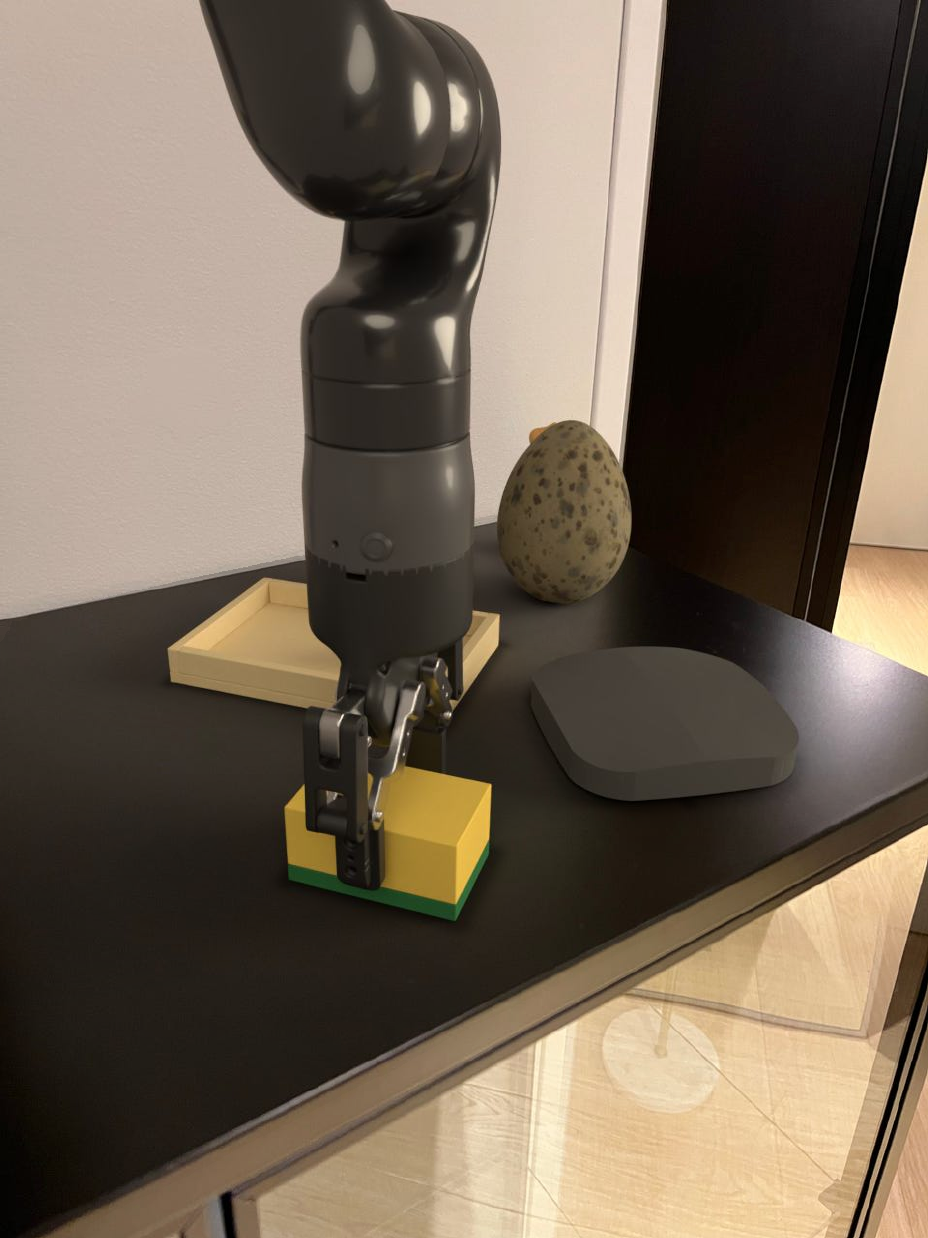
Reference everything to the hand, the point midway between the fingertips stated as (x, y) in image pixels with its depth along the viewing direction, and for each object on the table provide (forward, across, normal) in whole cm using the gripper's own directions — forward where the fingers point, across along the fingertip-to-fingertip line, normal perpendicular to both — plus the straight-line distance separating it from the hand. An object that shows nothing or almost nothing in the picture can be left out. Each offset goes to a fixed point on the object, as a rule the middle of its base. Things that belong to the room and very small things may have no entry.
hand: (395, 831), depth 52 cm
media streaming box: (+3, -18, +11) cm, 21 cm away
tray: (+2, -20, -12) cm, 24 cm away
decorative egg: (+3, -37, 0) cm, 37 cm away
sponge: (+2, 0, 0) cm, 2 cm away
